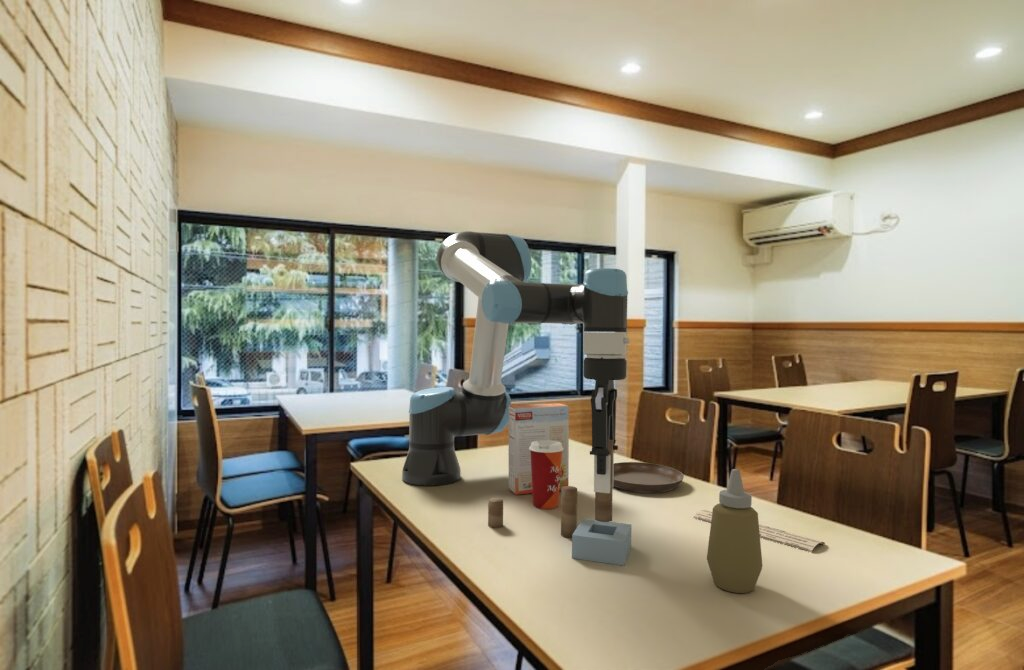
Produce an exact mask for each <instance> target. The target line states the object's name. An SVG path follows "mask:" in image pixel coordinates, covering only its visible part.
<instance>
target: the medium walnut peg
mask: <svg viewBox="0 0 1024 670" xmlns="http://www.w3.org/2000/svg"><path fill="white" fill-rule="evenodd" d="M560 491H561V493H560V497H561V498H560V500H561V503H560V505H561V506H560V536H561V537H563V538H566V539H567V538H569V539H572V534H573V533H574V531H575V530H576V528H577V527H578V521H577V519H578V518H577V517H578V488H577V487H576V486H571V485H568V486H564V487H562V488H561V490H560Z"/></svg>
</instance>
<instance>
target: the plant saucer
mask: <svg viewBox="0 0 1024 670" xmlns="http://www.w3.org/2000/svg"><path fill="white" fill-rule="evenodd" d="M684 476H685V475H684V474H683V472H681V471H680V470H678V469H675V468H673V467H669V466H666V465H662V464H656V463H652V462H651V463H650V462H638V461H624V462H621V461H620V462H614V476H613V487H615V488H617V489H620V490H623V491H627V492H628V491H629V492H632V491H633V492H634V493H641V492H642V493H645V494H657V492H660V493H665V491H667V492H670V491H673V490H674V489H675V488H677V487H678V486H679V485H680V484H681V483H682V481H683V480H684V478H685V477H684ZM669 490H670V491H669Z"/></svg>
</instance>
